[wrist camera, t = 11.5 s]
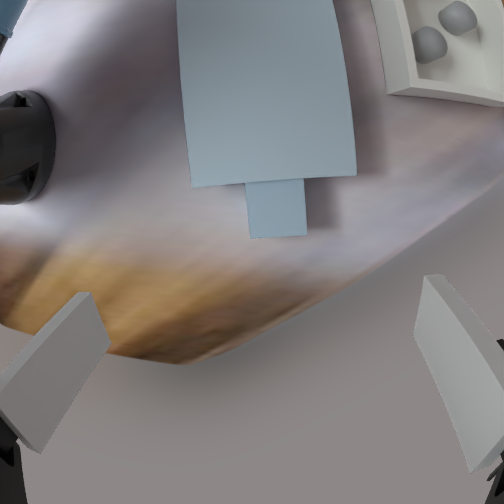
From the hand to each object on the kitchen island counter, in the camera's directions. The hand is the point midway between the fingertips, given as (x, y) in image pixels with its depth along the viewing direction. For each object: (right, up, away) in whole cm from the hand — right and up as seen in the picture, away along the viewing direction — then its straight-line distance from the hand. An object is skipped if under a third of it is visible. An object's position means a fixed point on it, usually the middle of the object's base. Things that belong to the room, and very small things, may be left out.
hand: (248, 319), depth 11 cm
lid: (+2, +17, +15) cm, 23 cm away
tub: (+18, +27, +8) cm, 33 cm away
